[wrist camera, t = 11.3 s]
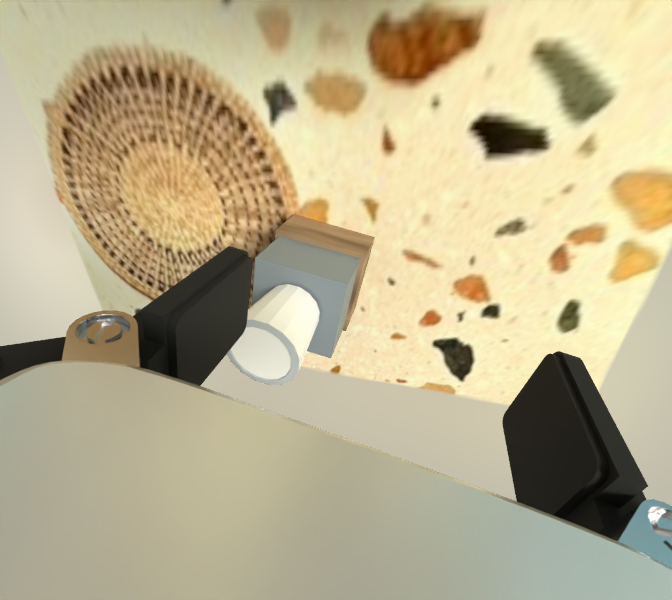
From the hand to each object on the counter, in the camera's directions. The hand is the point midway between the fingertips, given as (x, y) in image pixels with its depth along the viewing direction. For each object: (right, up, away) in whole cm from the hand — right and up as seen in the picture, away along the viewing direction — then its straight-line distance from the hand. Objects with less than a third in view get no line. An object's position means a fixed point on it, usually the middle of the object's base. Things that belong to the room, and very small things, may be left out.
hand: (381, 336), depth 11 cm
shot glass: (-6, 0, +24) cm, 24 cm away
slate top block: (-4, +3, +29) cm, 29 cm away
